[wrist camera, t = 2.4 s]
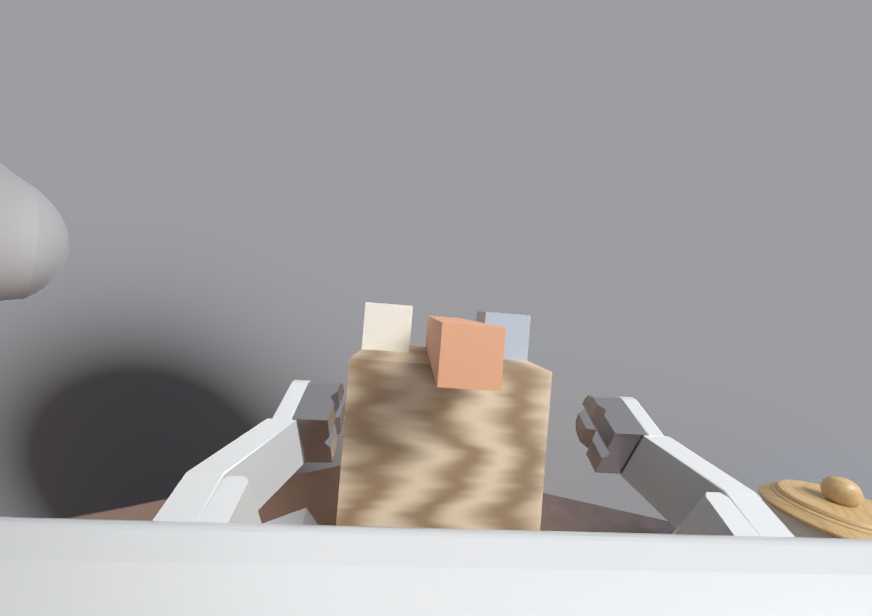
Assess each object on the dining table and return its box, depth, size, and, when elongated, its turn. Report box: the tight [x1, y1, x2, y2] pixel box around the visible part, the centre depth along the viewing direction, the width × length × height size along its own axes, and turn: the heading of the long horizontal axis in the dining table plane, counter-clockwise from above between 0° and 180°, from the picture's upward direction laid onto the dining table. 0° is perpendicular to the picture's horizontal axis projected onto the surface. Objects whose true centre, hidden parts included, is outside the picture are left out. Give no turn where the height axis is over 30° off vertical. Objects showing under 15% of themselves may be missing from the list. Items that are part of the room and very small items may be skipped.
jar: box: [758, 476, 872, 539], centre depth 32 cm, size 13×13×18 cm
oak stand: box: [336, 346, 552, 531], centre depth 35 cm, size 18×12×26 cm
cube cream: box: [362, 302, 413, 352], centre depth 37 cm, size 5×5×5 cm
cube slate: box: [476, 312, 531, 361], centre depth 38 cm, size 5×5×5 cm
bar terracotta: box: [426, 316, 506, 391], centre depth 31 cm, size 4×21×4 cm, turn 3°
